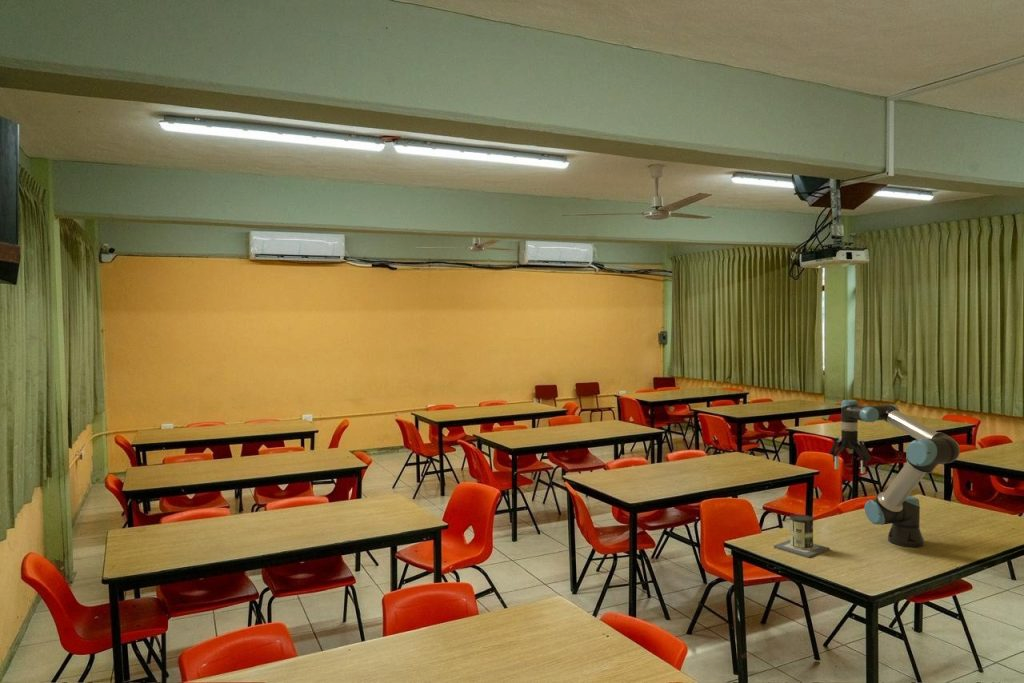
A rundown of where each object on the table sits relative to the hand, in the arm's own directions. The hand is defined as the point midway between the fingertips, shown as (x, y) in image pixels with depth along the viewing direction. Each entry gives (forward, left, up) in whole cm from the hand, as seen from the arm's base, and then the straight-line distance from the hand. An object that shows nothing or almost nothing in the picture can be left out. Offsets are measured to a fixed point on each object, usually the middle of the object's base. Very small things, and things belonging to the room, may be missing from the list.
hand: (849, 470), depth 343 cm
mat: (+1, +43, -32) cm, 53 cm away
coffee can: (+1, +43, -31) cm, 53 cm away
